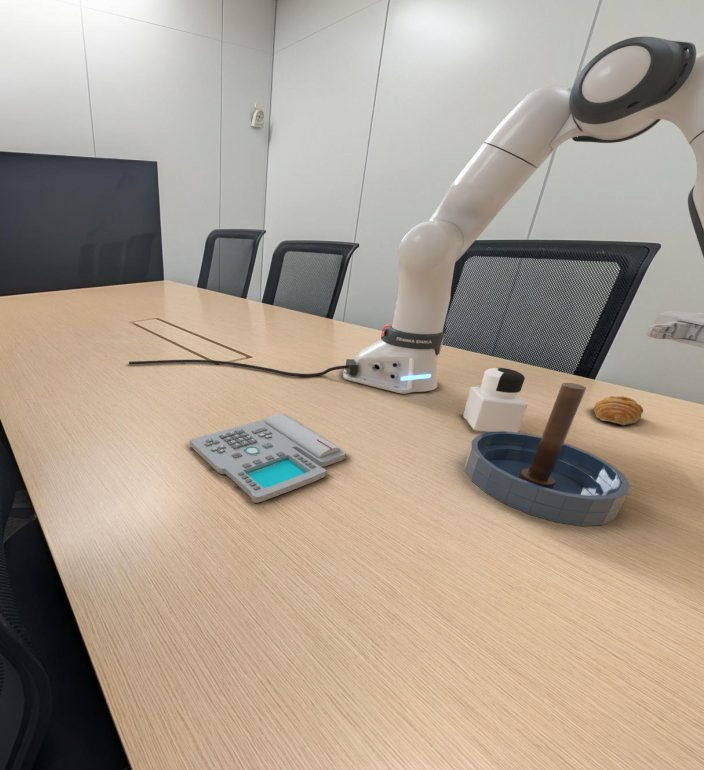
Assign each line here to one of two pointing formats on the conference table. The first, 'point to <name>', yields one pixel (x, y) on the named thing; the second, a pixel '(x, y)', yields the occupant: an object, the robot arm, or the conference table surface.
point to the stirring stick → (554, 436)
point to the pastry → (618, 410)
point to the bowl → (571, 472)
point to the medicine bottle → (496, 402)
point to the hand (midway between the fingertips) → (691, 341)
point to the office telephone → (268, 455)
